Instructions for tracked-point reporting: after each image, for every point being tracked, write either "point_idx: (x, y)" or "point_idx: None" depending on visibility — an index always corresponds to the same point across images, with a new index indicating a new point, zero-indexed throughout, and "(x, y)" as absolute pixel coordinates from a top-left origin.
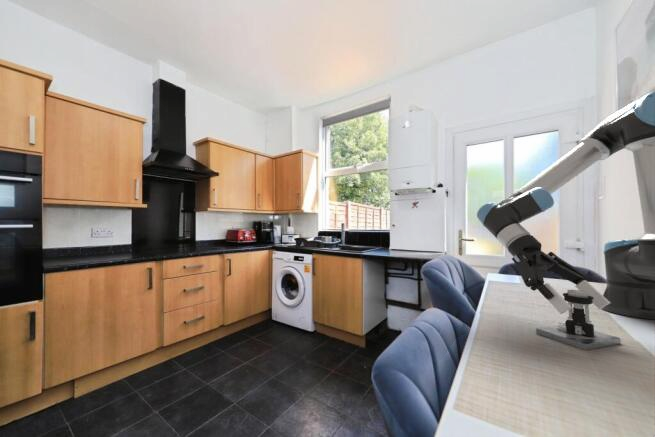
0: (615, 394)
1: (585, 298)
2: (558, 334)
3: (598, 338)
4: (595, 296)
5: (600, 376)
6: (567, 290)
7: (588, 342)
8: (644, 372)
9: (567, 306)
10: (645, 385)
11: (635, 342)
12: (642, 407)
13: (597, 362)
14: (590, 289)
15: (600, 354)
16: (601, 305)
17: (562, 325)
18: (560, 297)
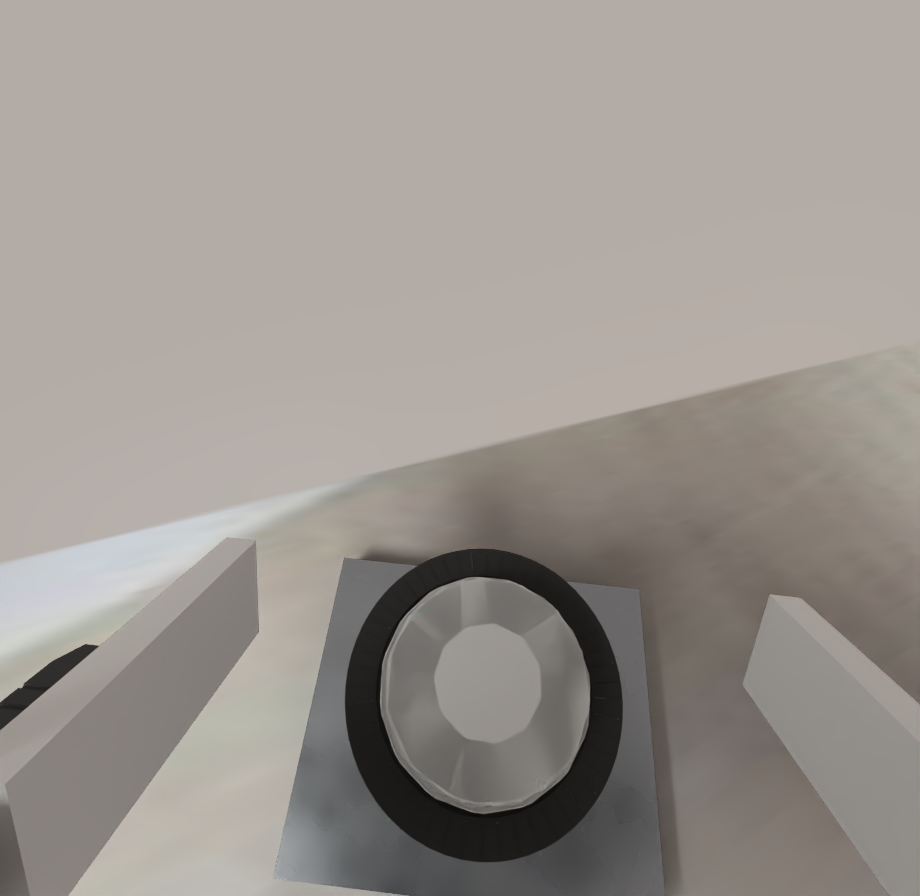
0: (887, 405)
1: (552, 575)
2: (630, 749)
3: None
4: (207, 635)
5: (824, 462)
6: (543, 788)
7: (591, 596)
8: (632, 420)
9: (811, 613)
10: (735, 392)
11: (260, 542)
12: (875, 361)
13: (715, 514)
14: (145, 678)
15: (612, 545)
16: (254, 603)
17: (382, 868)
18: (877, 671)
